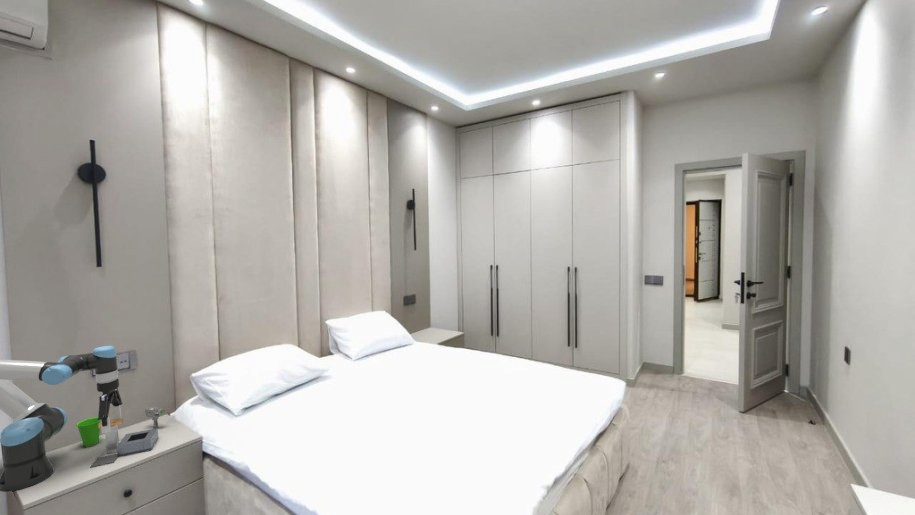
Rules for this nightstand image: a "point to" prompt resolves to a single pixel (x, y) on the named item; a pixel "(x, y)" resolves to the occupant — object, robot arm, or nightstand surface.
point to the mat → (104, 460)
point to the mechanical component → (154, 414)
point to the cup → (89, 431)
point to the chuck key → (112, 435)
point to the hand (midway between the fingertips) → (112, 426)
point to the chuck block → (137, 442)
